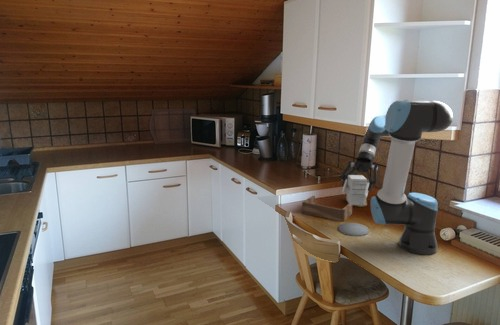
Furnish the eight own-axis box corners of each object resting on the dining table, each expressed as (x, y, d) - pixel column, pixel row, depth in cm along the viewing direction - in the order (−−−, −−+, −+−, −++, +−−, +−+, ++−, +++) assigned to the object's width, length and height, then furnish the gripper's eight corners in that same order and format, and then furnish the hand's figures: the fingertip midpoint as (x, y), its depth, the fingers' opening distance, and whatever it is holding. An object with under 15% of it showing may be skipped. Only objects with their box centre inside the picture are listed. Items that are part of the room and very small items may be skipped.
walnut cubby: (312, 205, 214) (312, 195, 212) (351, 213, 202) (352, 203, 200) (301, 212, 202) (302, 202, 201) (343, 221, 190) (344, 210, 189)
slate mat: (370, 227, 183) (370, 225, 183) (367, 238, 171) (367, 236, 170) (341, 222, 188) (341, 221, 188) (336, 233, 176) (336, 231, 176)
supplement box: (345, 200, 180) (347, 174, 178) (361, 200, 180) (363, 174, 177) (349, 205, 173) (351, 178, 170) (365, 205, 173) (367, 178, 170)
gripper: (390, 162, 179) (379, 202, 170) (345, 157, 191) (332, 194, 181) (389, 153, 174) (377, 194, 164) (342, 148, 186) (329, 186, 176)
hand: (354, 194), depth 173 cm, fingers closed on supplement box, 10 cm apart
